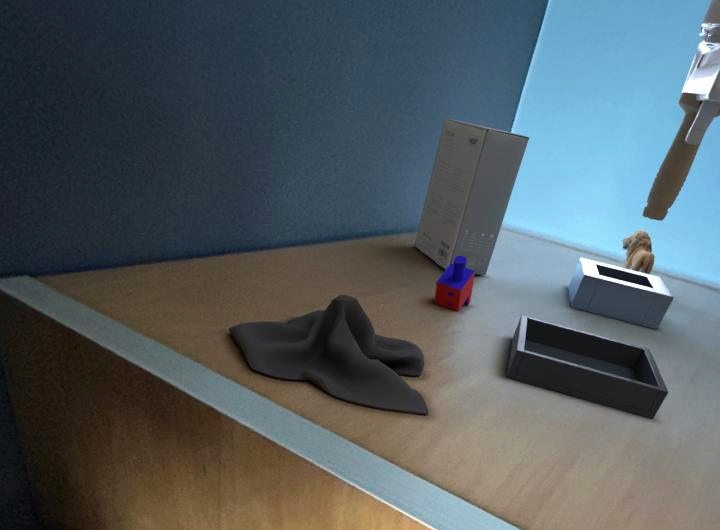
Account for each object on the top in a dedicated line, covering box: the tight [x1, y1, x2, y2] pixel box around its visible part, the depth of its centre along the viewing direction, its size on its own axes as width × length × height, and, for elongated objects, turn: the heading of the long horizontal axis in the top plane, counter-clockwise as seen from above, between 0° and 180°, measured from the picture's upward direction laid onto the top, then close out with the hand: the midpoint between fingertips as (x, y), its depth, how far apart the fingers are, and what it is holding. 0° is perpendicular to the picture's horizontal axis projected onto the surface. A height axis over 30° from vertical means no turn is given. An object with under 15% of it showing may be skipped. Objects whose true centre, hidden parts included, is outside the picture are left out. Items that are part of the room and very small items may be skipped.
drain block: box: [567, 257, 675, 330], centre depth 92 cm, size 13×13×5 cm
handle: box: [642, 91, 720, 222], centre depth 81 cm, size 5×6×15 cm
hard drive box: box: [414, 117, 531, 276], centre depth 94 cm, size 16×8×20 cm, turn 15°
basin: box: [506, 314, 669, 419], centre depth 65 cm, size 16×14×3 cm
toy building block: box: [434, 256, 476, 312], centre depth 77 cm, size 4×4×8 cm
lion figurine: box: [621, 229, 656, 275], centre depth 106 cm, size 15×5×9 cm, turn 175°
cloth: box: [228, 294, 430, 416], centre depth 55 cm, size 22×19×6 cm
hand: (686, 143), depth 80 cm, fingers closed on handle, 4 cm apart
